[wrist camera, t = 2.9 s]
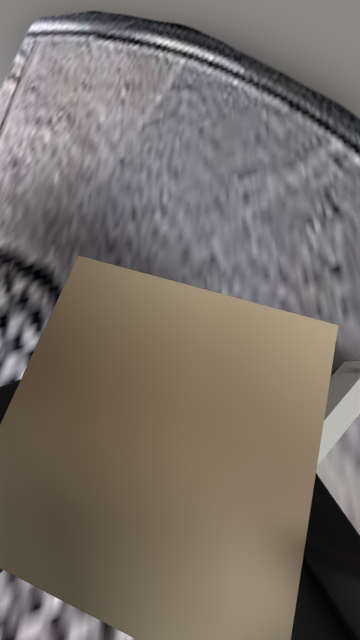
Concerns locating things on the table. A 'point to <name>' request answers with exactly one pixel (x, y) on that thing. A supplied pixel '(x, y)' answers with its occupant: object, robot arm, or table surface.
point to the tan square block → (165, 457)
